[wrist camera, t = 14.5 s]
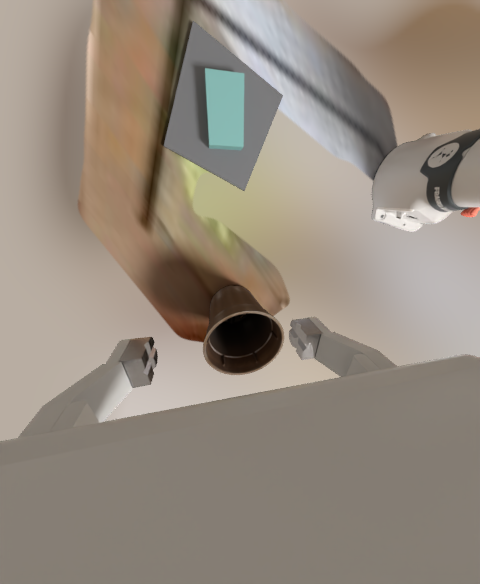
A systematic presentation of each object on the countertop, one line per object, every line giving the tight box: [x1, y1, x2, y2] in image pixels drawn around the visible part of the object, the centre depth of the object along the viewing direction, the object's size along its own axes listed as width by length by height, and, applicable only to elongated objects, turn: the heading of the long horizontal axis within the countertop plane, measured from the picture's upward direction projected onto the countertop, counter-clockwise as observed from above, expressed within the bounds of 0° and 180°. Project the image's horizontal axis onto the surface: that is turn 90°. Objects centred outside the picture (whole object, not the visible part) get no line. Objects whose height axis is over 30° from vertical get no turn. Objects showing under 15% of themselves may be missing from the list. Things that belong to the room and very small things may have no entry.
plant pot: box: [203, 286, 284, 375], centre depth 41 cm, size 16×16×16 cm
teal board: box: [205, 68, 244, 150], centre depth 30 cm, size 2×6×9 cm
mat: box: [164, 21, 283, 191], centre depth 31 cm, size 16×16×1 cm
